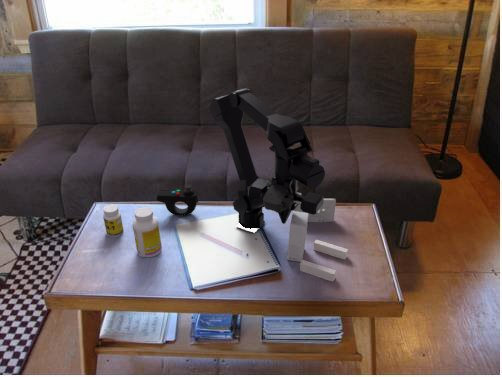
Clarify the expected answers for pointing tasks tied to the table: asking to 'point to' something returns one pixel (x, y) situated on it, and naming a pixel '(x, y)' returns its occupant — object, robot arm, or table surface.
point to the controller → (179, 200)
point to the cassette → (322, 212)
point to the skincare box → (297, 236)
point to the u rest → (321, 270)
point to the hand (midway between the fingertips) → (284, 222)
